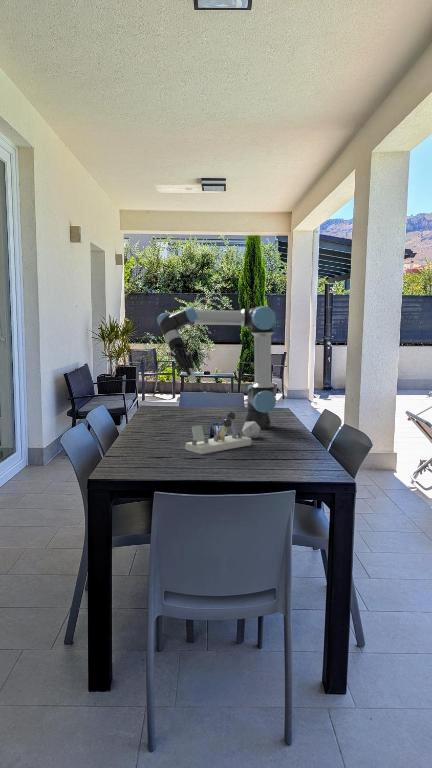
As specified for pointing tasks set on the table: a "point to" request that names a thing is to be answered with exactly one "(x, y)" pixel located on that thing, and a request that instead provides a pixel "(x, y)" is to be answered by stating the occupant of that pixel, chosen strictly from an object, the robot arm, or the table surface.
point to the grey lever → (233, 422)
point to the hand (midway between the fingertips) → (193, 380)
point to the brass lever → (224, 428)
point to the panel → (217, 443)
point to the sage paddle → (198, 433)
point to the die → (251, 429)
